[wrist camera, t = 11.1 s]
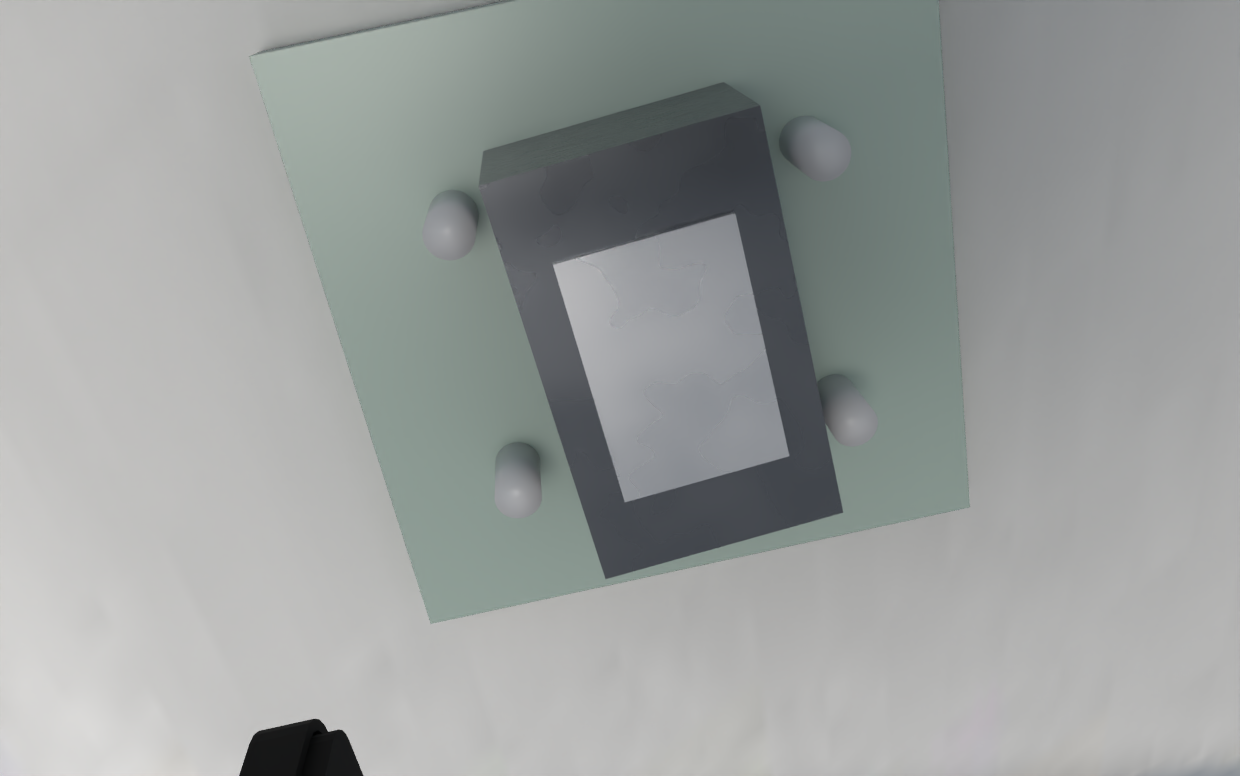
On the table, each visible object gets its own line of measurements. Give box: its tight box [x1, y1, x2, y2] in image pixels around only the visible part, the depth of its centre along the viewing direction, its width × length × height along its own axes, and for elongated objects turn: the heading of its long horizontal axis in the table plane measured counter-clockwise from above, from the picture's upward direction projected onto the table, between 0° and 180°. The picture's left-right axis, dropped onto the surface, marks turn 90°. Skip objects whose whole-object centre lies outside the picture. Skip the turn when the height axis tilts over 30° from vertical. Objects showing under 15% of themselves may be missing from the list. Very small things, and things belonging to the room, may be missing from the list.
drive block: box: [479, 82, 843, 579], centre depth 25 cm, size 6×10×4 cm, turn 15°
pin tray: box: [249, 0, 970, 624], centre depth 27 cm, size 16×16×3 cm
